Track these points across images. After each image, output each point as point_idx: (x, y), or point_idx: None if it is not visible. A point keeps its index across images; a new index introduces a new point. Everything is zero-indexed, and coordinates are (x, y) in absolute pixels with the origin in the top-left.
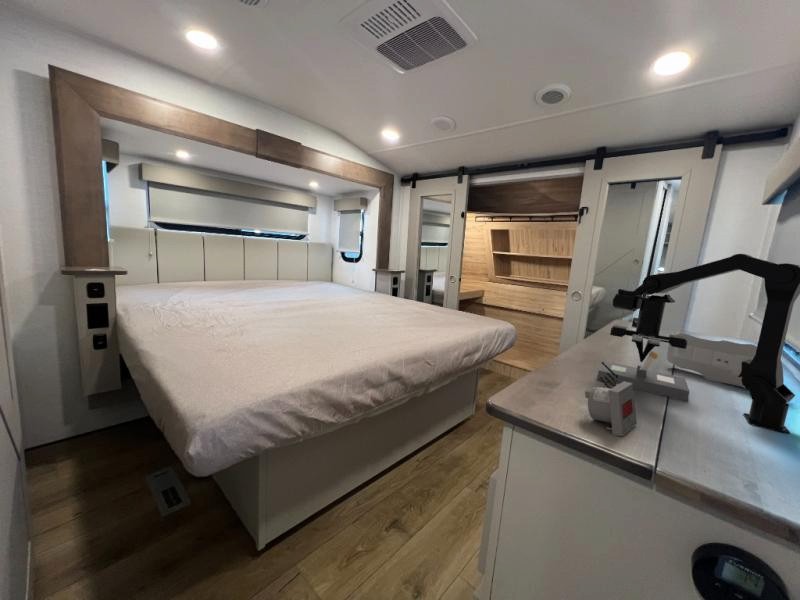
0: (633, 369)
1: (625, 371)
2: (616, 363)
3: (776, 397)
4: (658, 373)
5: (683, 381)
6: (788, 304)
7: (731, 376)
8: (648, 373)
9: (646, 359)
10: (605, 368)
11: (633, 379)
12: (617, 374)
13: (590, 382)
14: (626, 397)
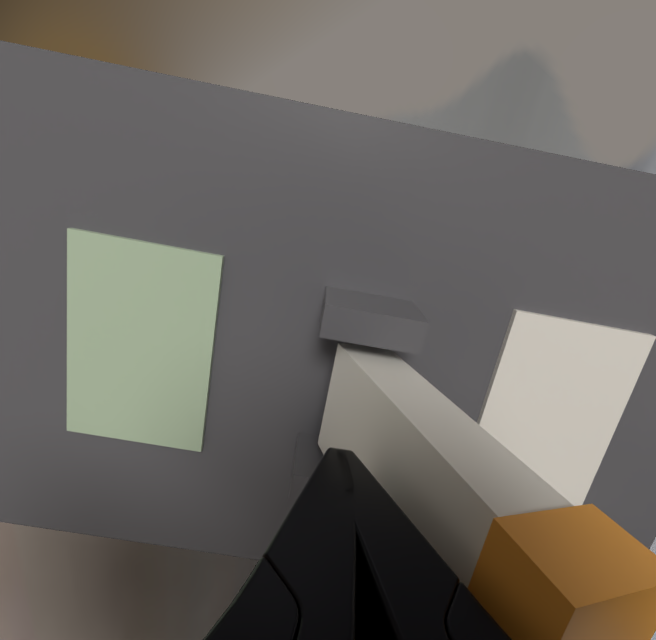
0: (300, 238)
1: (202, 414)
2: (114, 64)
3: None
4: (562, 217)
5: None
6: None
7: None
8: (437, 300)
9: (418, 453)
10: (21, 414)
11: (259, 554)
12: (134, 534)
13: (11, 555)
14: None
